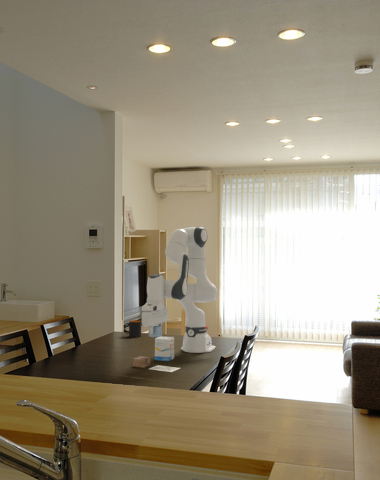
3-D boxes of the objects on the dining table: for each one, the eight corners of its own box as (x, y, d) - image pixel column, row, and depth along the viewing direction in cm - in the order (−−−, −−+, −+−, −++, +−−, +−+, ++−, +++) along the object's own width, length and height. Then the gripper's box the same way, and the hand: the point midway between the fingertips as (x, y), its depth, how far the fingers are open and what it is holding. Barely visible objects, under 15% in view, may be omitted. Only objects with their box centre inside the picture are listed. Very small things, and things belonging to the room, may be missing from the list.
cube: (153, 334, 250) (153, 325, 250) (162, 335, 248) (162, 326, 248) (148, 336, 246) (148, 326, 246) (157, 337, 244) (157, 327, 244)
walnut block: (139, 364, 243) (140, 356, 243) (150, 365, 240) (150, 357, 240) (133, 366, 237) (133, 358, 238) (143, 368, 235) (143, 359, 235)
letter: (157, 365, 240) (157, 365, 240) (180, 368, 234) (180, 368, 234) (148, 369, 232) (148, 368, 232) (171, 372, 226) (171, 371, 226)
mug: (126, 335, 336) (126, 320, 336) (142, 335, 333) (142, 320, 333) (122, 336, 328) (122, 321, 328) (138, 337, 325) (138, 322, 325)
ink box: (169, 362, 250) (169, 339, 250) (154, 361, 252) (154, 338, 253) (174, 358, 258) (174, 336, 259) (159, 357, 261) (159, 335, 261)
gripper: (160, 303, 258) (160, 329, 258) (139, 307, 240) (139, 335, 240) (170, 304, 255) (170, 330, 255) (150, 308, 237) (150, 336, 237)
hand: (155, 333), depth 247 cm, fingers closed on cube, 5 cm apart
